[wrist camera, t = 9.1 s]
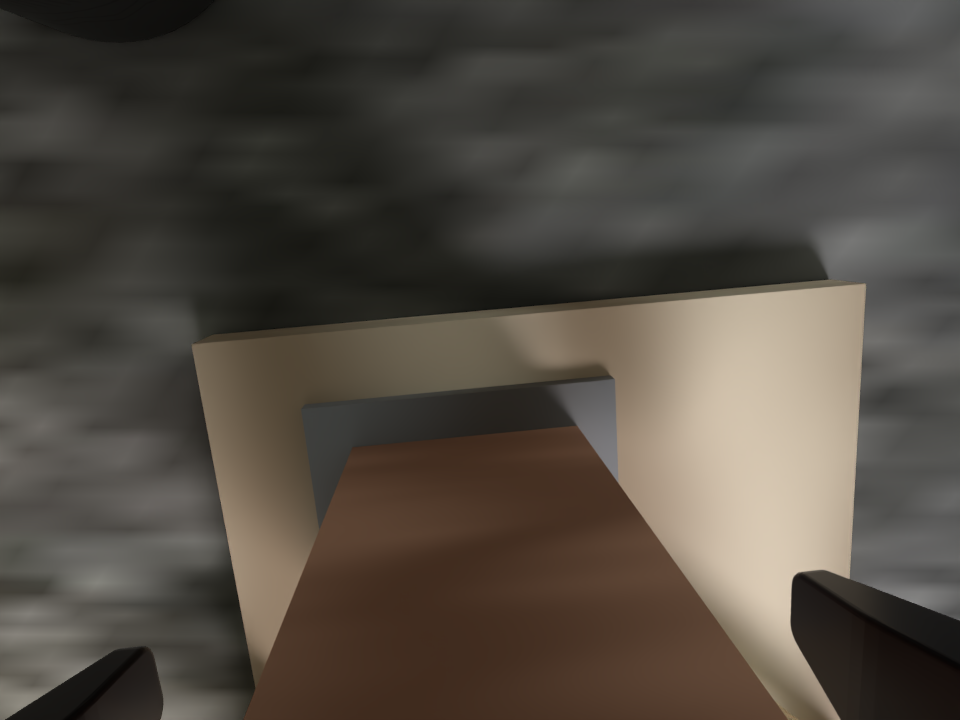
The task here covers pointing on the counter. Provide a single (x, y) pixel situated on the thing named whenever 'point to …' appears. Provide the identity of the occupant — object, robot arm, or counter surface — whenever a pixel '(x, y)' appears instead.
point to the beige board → (562, 403)
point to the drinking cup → (109, 16)
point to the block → (497, 597)
